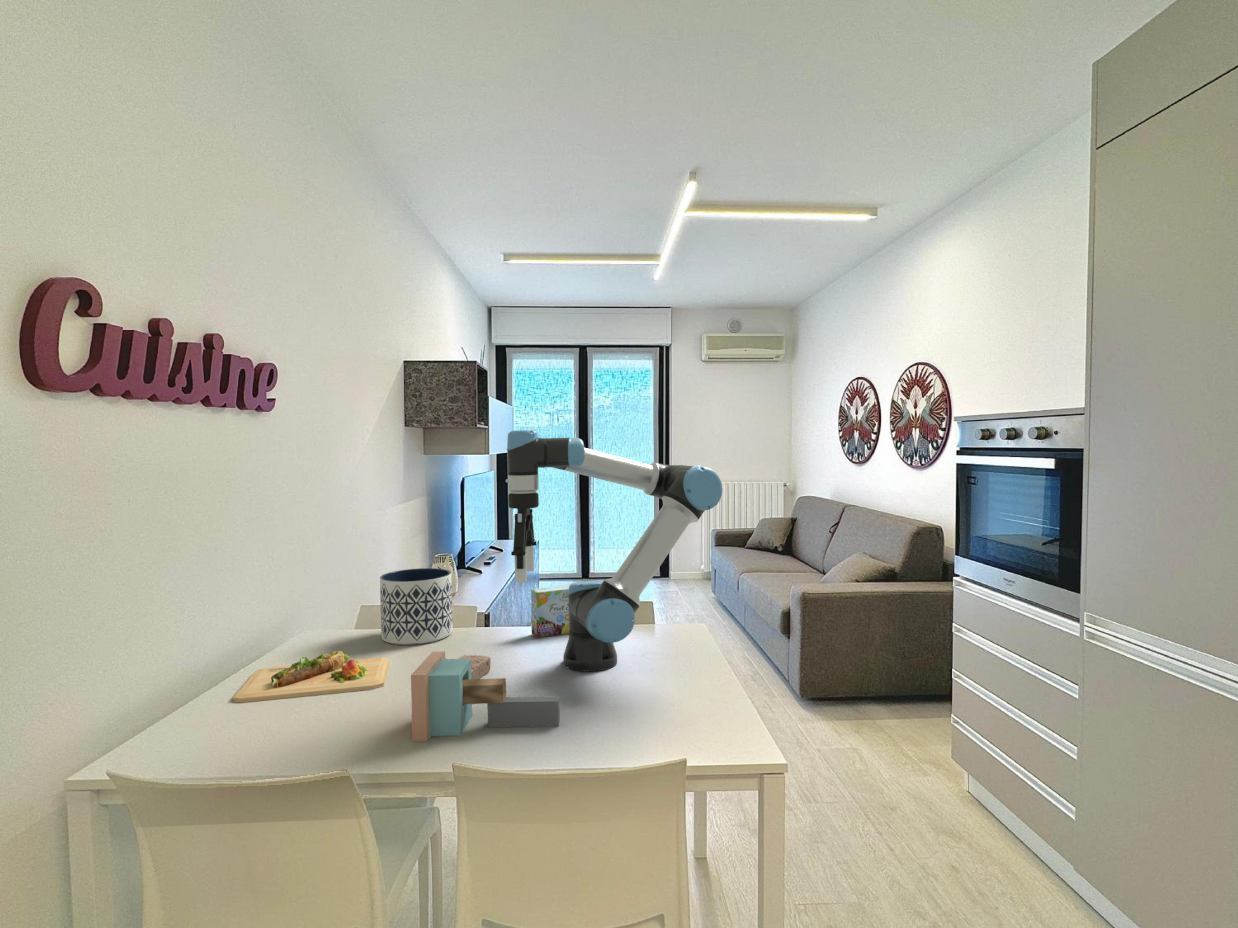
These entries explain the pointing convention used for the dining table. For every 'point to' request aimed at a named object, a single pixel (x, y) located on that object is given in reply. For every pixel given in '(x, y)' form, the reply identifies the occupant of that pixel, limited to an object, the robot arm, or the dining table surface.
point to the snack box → (550, 611)
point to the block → (449, 697)
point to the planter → (416, 606)
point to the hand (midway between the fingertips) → (525, 576)
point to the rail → (524, 712)
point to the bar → (484, 691)
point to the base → (422, 696)
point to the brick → (478, 665)
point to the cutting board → (315, 678)
